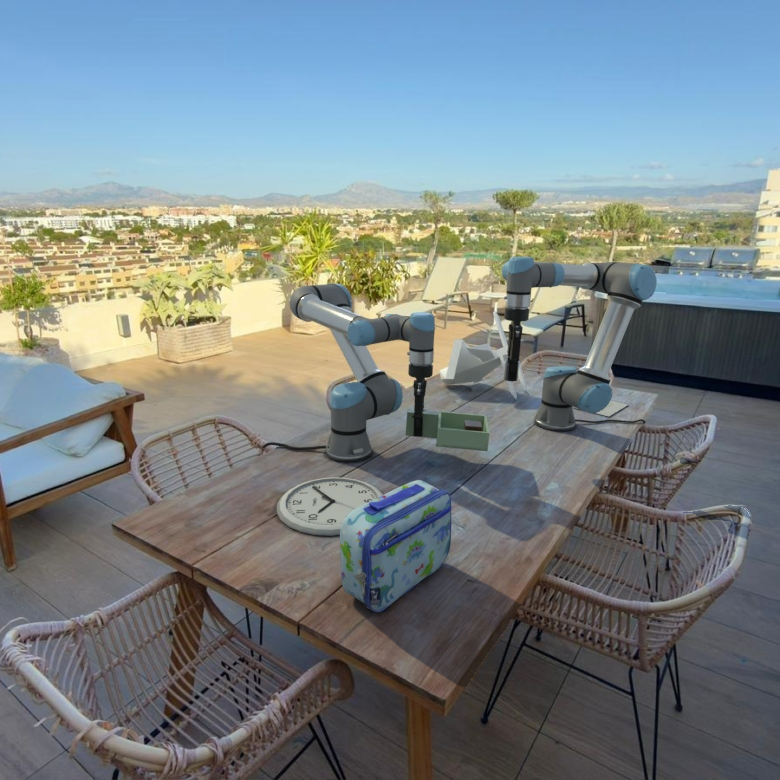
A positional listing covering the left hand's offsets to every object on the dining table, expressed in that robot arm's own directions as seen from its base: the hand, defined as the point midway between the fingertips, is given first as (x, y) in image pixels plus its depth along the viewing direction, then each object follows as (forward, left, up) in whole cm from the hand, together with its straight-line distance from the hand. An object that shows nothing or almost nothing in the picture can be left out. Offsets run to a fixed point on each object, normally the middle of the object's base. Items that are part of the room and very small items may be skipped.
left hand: (418, 433), depth 168 cm
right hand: (+22, +23, +17) cm, 36 cm away
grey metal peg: (+22, +23, +16) cm, 35 cm away
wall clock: (-6, -38, -10) cm, 40 cm away
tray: (+8, +4, -1) cm, 9 cm away
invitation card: (+41, +92, -9) cm, 101 cm away
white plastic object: (-11, +82, -9) cm, 83 cm away
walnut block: (+17, +4, 0) cm, 17 cm away
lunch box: (+25, -57, -10) cm, 63 cm away
